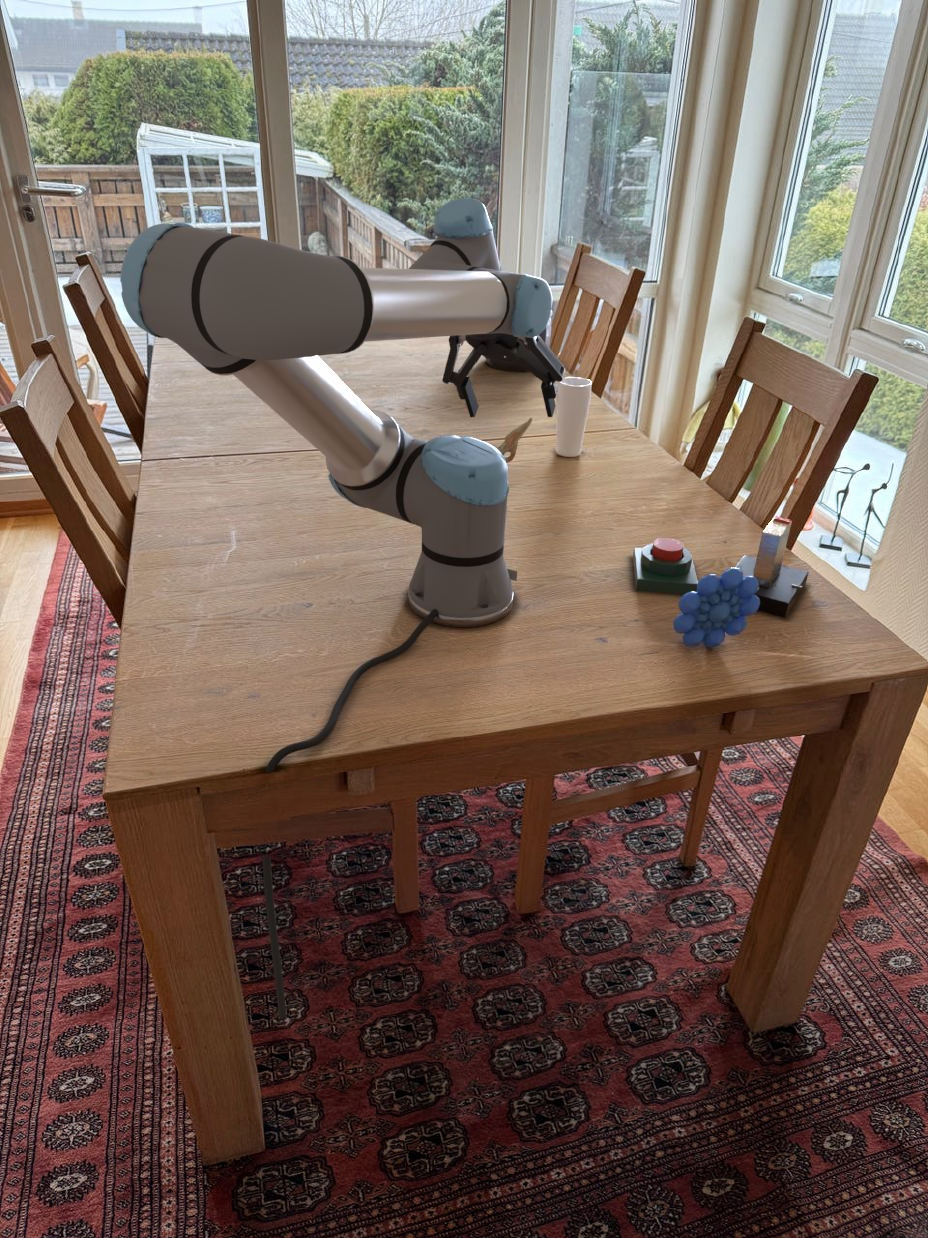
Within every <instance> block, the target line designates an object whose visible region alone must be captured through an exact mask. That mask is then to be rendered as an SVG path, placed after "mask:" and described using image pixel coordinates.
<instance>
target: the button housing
mask: <svg viewBox="0 0 928 1238" xmlns="http://www.w3.org/2000/svg"><path fill="white" fill-rule="evenodd" d="M652 547H653V543H649V544H647V545H645V546H644V547H633V553H632V565H633V577H634V585H635V591H638V592H651V593H662V594H674V595H684V594H686V593H689V592H692V591H693V592H697V584H698V582H699V581H698V578H697V574H696V569H695V565H694V561H693V560H694V559H693V557H692V552H691V551H689V550H688V549H686V548H685V547H684V548H683V553H682V558H681V560H678V561H663V560H660V559H657V558H655V557H653V556H652Z"/></svg>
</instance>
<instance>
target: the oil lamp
mask: <svg viewBox="0 0 928 1238" xmlns="http://www.w3.org/2000/svg"><path fill="white" fill-rule="evenodd" d="M532 422H533V418H532V417H530V418H529V419H528V420H526V421H525V422H523V423H521V424H519V425H518V426H517V427H515V428H513V429H512V430H511V431H510V432H509V433H507V434H506V436H505V437H504V441H503V442H502V443H501V444H500V445H499V446H498V445H496V444H493V443H491V442H487V443H488V444H490V445H492V446H493V447H495V448H496V449H497V450H498V451H500V452H501V454H502V455H503V456H504V458H505V460H506V463H507V464H509V463H510V462H513V460H514V458H515V457H516V453H517V450H518V445H519V441H520V439H521V438H522V437H523V435H524V434H525V433H526V432H527V430H528V429H529V427H531V425H532ZM506 453H509V454H510V455H509V456H505V454H506Z"/></svg>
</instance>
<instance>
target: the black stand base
mask: <svg viewBox="0 0 928 1238" xmlns="http://www.w3.org/2000/svg"><path fill="white" fill-rule="evenodd" d="M756 559H757V557H753V556H749V555H746V554H744V556H742V558H741V559H740V560H739V562H738V563H737V564H736V565H735V567H730V569H731V568H738V569H740V570H741V571H742V573H743V578H744V577H747V576H753V573H754V568H755V564H756ZM808 577H809V571H806V570H802V569H799V568H795V567H791V566H787V565H785V564H782V565H781V569H780V572H779V574H778V575H777V577H776V578H775V579H774V581H773V582H772V584H771V585H770V587H769V588H765V587H762V586H758V589H757V592H756V593H755V594H754V595H756V596H757V597H758V598H759V600H760V605H759V608H758V610H757V611H759V612H761V613H766V614H769V615H773V616H777V617H779V618H783V619H785V618H786V617H787V616H788V614H789V613H790V611H791V609H792V607H794V605H795V603H796V601H797V600H798V598H799V597H800V595H801V593H802V592H803V590H804V588H805V587H806V585H807V581H808Z"/></svg>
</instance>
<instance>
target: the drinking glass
mask: <svg viewBox="0 0 928 1238" xmlns="http://www.w3.org/2000/svg"><path fill="white" fill-rule="evenodd" d="M592 385H593V384H592V381H591V380H590V379H588V378H585V377H580V376H565V377H564V376H563V379H562V381H560V382H558V381H557V389H558V391H557V395H556V398H555V405H556V406H555V448H554V451H555V453H556V454H557V455H559V456H561V457H564V458H565V457H566V458H575V457H578V456H580V455H581V453H582V449H583V441H584V436H585V430H586V425H587V421H588V416H589V410H590V405H591V398H592V397H591V396H592Z"/></svg>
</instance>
